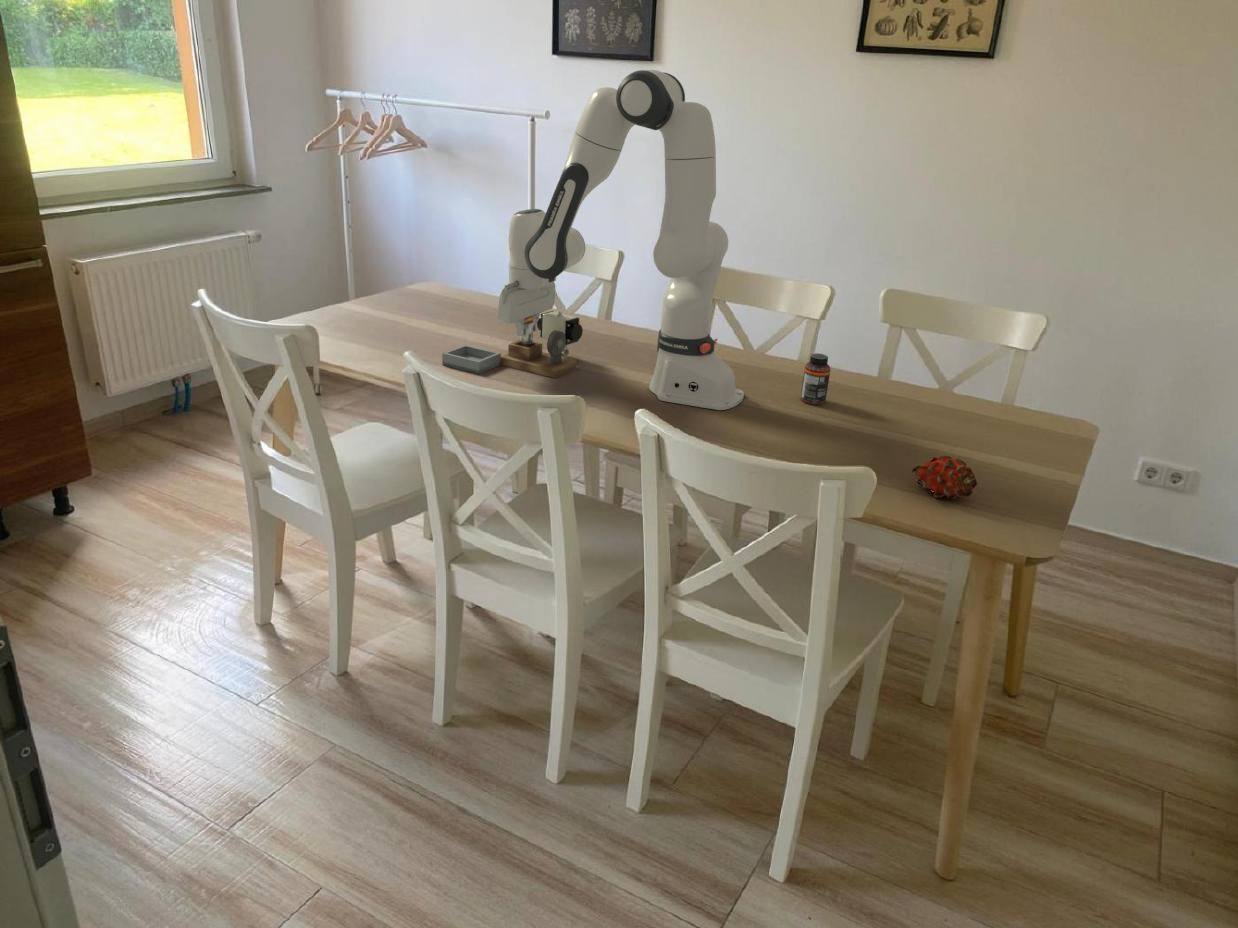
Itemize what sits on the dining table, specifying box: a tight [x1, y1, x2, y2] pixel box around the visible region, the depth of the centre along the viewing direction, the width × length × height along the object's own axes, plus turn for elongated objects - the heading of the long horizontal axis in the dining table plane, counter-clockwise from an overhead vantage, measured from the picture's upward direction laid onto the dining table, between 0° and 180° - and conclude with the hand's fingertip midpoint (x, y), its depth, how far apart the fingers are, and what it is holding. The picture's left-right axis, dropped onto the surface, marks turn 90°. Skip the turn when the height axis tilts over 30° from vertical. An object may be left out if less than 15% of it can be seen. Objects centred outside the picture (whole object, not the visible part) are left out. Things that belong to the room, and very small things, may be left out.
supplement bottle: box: [800, 353, 831, 406], centre depth 212 cm, size 6×6×11 cm
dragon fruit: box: [911, 454, 978, 500], centre depth 170 cm, size 8×8×12 cm
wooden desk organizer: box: [500, 330, 578, 379], centre depth 223 cm, size 16×10×10 cm, turn 62°
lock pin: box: [519, 316, 534, 347], centre depth 224 cm, size 3×3×9 cm
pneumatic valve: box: [536, 310, 583, 358], centre depth 231 cm, size 6×12×12 cm, turn 53°
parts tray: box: [441, 344, 502, 375], centre depth 223 cm, size 11×9×3 cm
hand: (526, 333), depth 224 cm, fingers closed on lock pin, 3 cm apart
